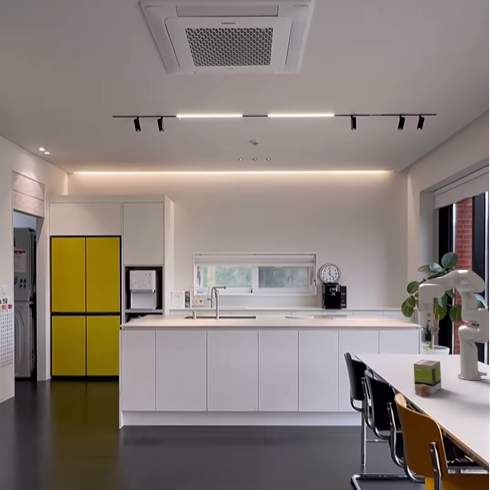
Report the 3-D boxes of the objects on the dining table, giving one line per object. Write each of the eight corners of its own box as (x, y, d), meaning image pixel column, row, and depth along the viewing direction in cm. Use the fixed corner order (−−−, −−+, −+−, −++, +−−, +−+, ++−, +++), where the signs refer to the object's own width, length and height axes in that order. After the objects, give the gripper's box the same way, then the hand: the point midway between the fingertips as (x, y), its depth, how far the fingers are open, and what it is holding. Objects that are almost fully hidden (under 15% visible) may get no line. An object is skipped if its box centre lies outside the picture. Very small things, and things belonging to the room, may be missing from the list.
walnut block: (423, 393, 243) (423, 384, 243) (429, 396, 238) (429, 386, 238) (415, 394, 241) (415, 384, 242) (421, 396, 237) (420, 386, 237)
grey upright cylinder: (430, 340, 255) (430, 328, 255) (433, 342, 249) (433, 329, 250) (420, 340, 255) (419, 328, 256) (422, 342, 250) (422, 329, 250)
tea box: (423, 385, 260) (422, 358, 261) (441, 388, 253) (441, 361, 254) (414, 390, 248) (413, 363, 249) (433, 393, 242) (432, 365, 243)
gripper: (437, 308, 244) (438, 342, 243) (428, 305, 261) (429, 338, 260) (423, 308, 245) (423, 342, 244) (415, 305, 262) (415, 337, 261)
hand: (426, 339), depth 252 cm, fingers closed on grey upright cylinder, 5 cm apart
